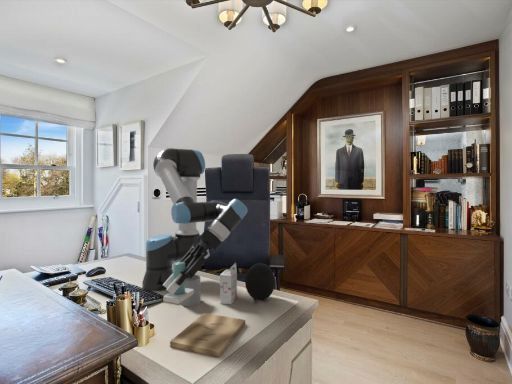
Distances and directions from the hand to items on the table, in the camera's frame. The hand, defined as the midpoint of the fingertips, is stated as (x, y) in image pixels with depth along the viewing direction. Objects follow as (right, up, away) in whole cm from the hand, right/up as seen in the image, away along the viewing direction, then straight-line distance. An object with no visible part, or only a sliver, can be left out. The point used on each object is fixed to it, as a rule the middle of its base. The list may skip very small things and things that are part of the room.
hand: (167, 289), depth 96 cm
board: (+15, -13, -4) cm, 20 cm away
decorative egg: (+31, -13, +24) cm, 41 cm away
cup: (+2, -13, +22) cm, 25 cm away
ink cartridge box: (+18, -13, +24) cm, 32 cm away
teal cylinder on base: (+3, -4, +2) cm, 5 cm away
